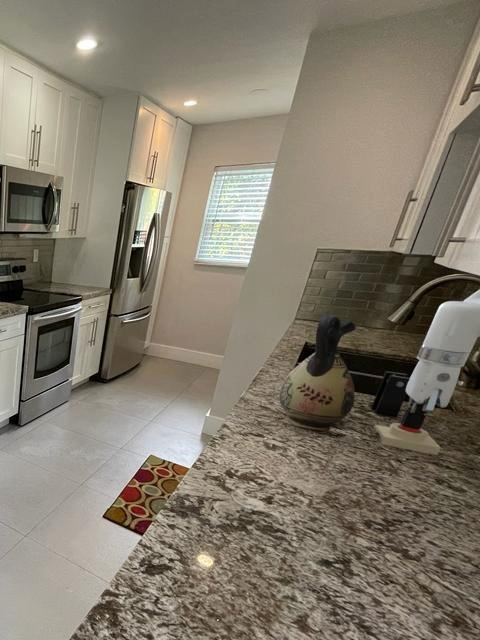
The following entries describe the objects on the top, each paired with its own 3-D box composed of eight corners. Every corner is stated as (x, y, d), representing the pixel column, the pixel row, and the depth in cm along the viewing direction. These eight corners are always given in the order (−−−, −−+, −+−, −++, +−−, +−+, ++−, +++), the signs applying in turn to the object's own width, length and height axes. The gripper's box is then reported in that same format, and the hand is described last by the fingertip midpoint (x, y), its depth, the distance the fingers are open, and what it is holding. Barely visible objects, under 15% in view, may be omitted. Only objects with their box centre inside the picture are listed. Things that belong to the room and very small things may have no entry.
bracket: (403, 415, 119) (422, 374, 114) (416, 428, 111) (436, 384, 106) (350, 406, 124) (365, 366, 120) (358, 418, 116) (375, 376, 112)
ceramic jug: (291, 408, 122) (324, 308, 112) (354, 430, 109) (398, 319, 98) (256, 417, 116) (287, 312, 105) (318, 442, 103) (361, 325, 92)
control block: (424, 441, 104) (430, 427, 102) (437, 455, 97) (444, 440, 96) (372, 431, 109) (377, 418, 107) (381, 444, 102) (387, 430, 101)
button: (414, 431, 102) (417, 425, 102) (420, 437, 100) (423, 431, 99) (395, 428, 104) (398, 422, 104) (400, 433, 101) (402, 427, 101)
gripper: (481, 367, 87) (443, 443, 94) (450, 351, 99) (418, 419, 106) (432, 361, 90) (399, 434, 97) (408, 346, 102) (380, 412, 109)
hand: (409, 426), depth 101 cm, fingers closed
